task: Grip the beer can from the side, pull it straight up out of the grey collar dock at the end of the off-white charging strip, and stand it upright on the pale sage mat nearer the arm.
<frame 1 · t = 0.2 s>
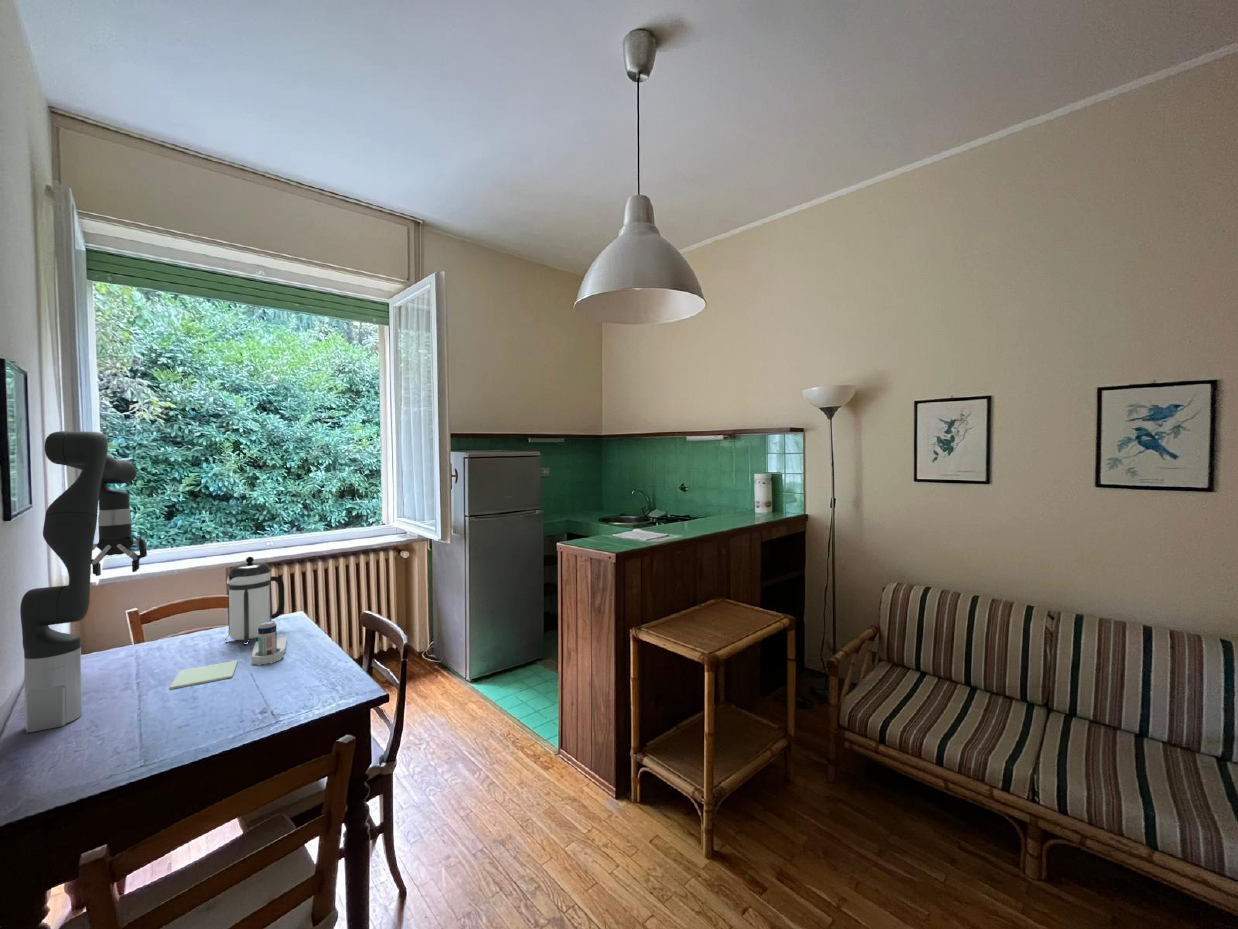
hand: (116, 573, 160), 29 cm above the table, tool pointing down, fingers open, 8 cm apart
beer can: (267, 660, 161), resting in charging dock
coffee press: (253, 638, 182), on the table
charging dock: (267, 659, 161), on the table
sage mat: (205, 675, 149), on the table
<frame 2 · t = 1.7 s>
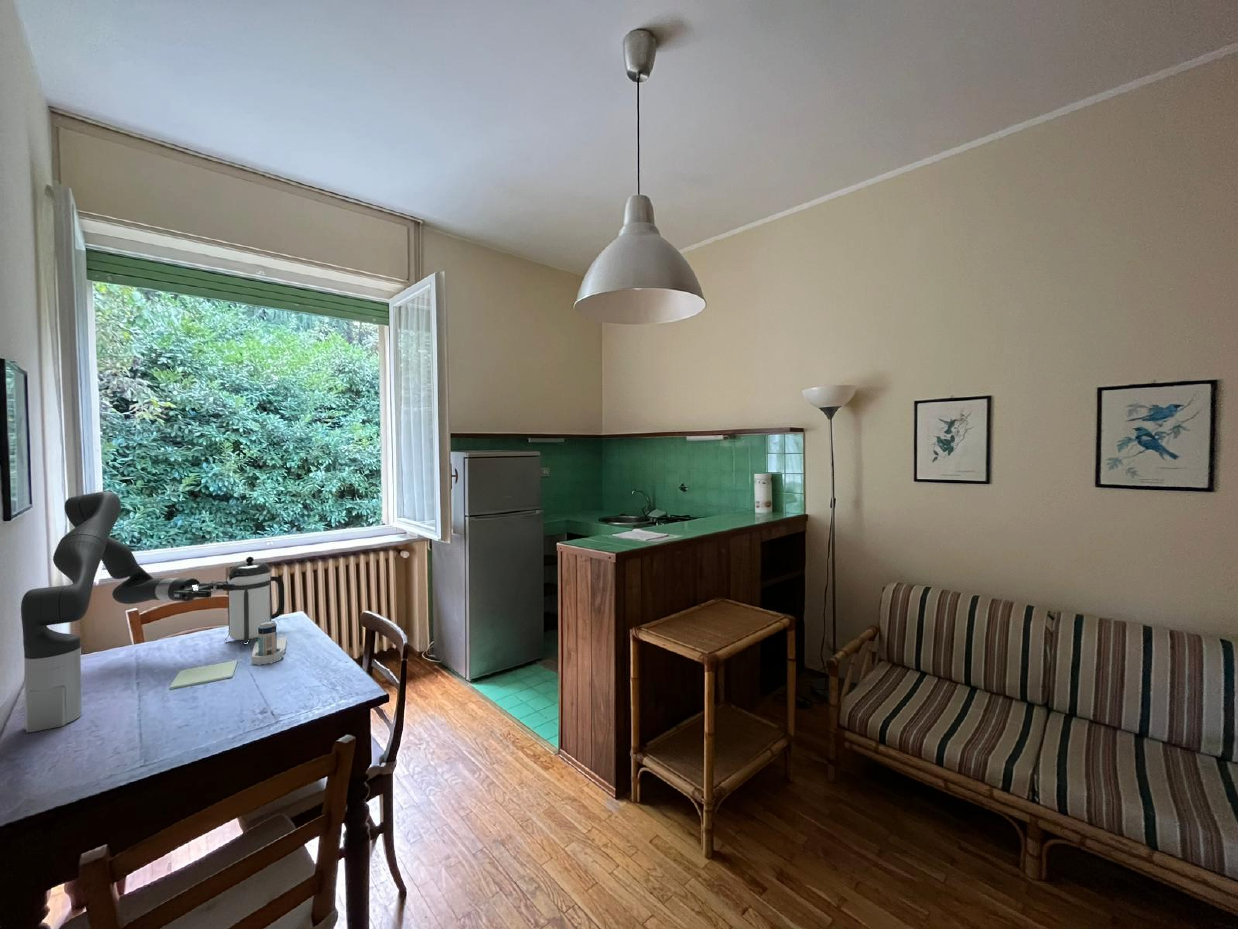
hand: (222, 590, 162), 22 cm above the table, tool horizontal, fingers open, 8 cm apart
nothing on the table moved.
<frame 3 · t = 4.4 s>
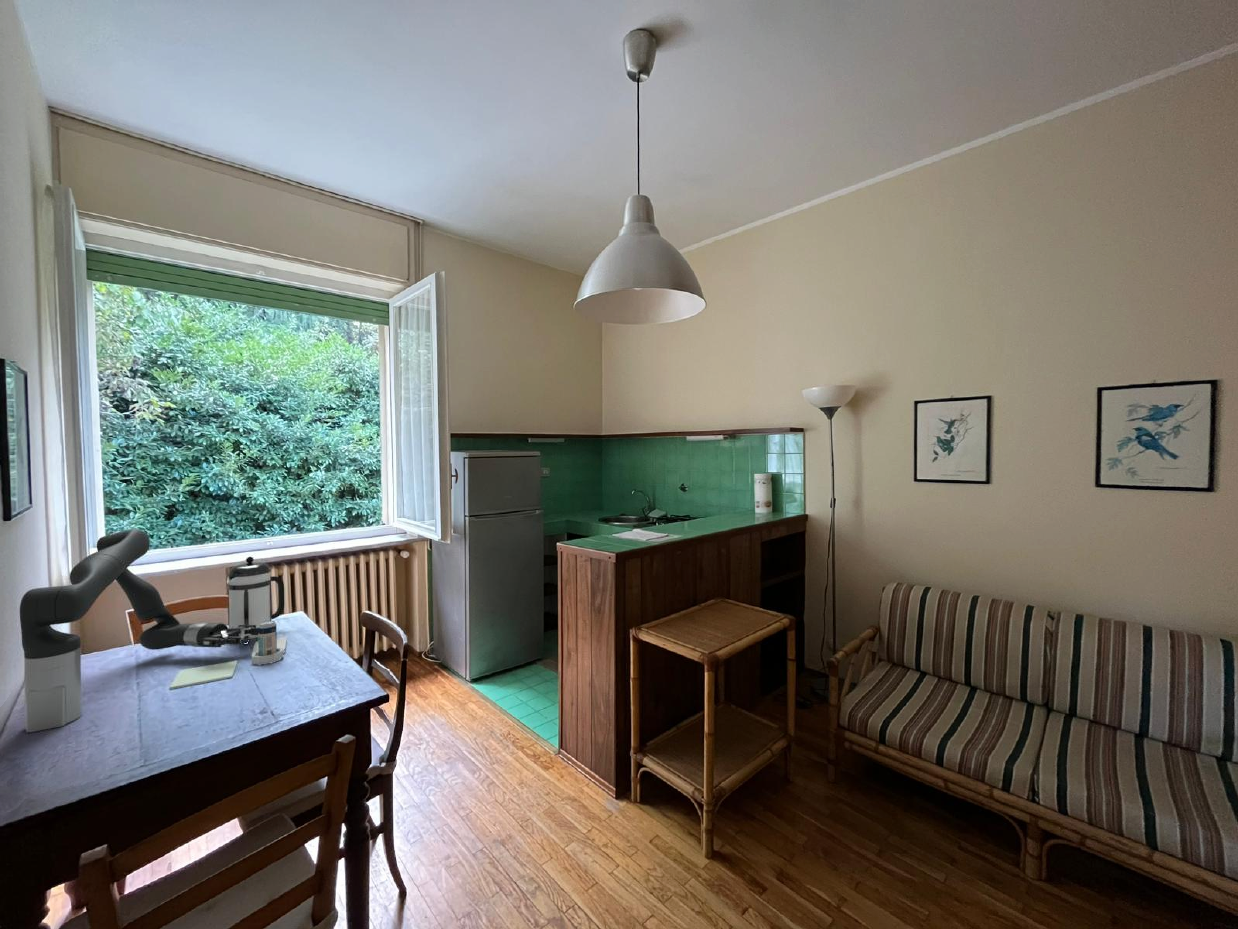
hand: (251, 636, 161), 8 cm above the table, tool horizontal, fingers open, 8 cm apart
nothing on the table moved.
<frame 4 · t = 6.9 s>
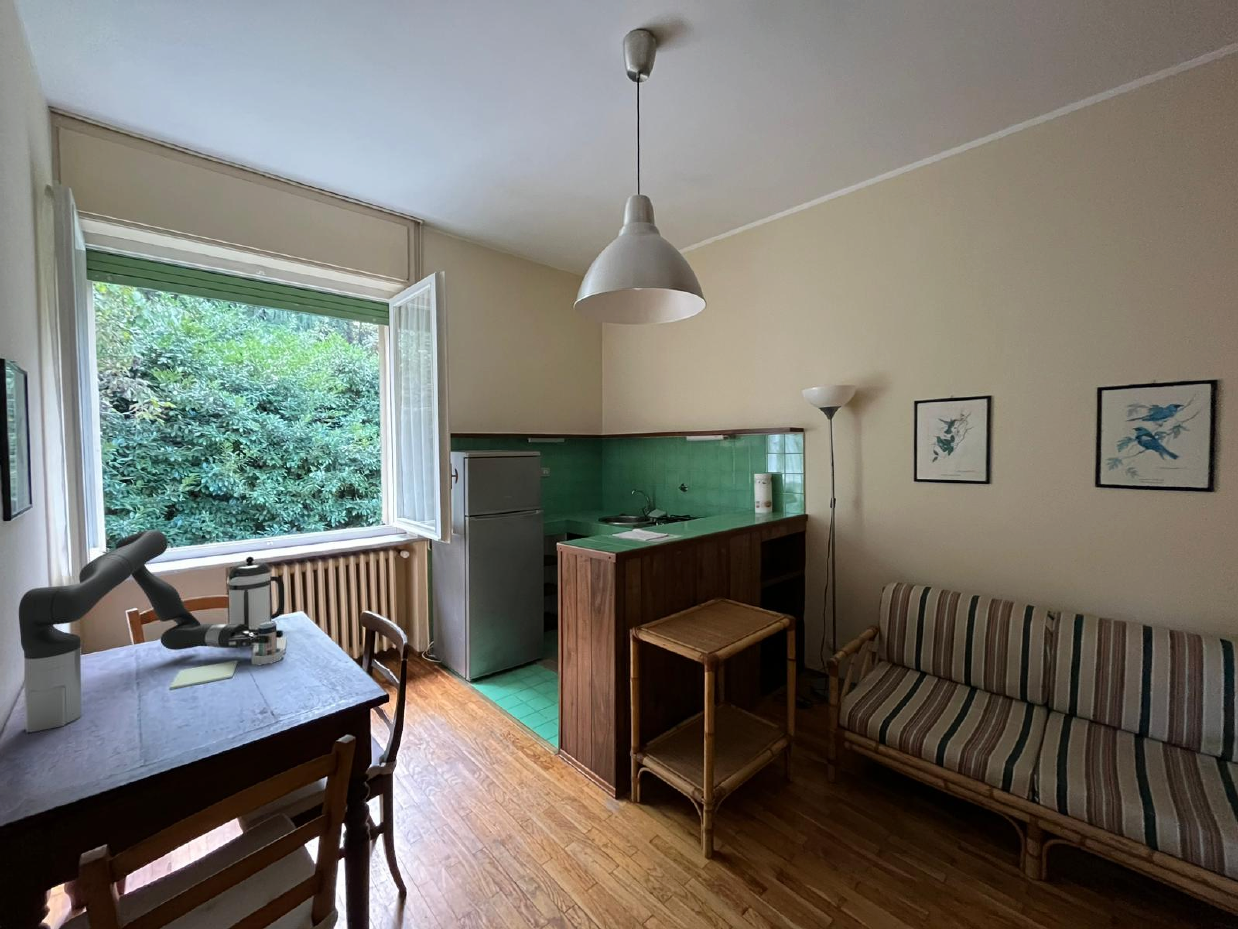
hand: (275, 636, 160), 8 cm above the table, tool horizontal, fingers closed on beer can, 4 cm apart
beer can: (267, 660, 161), resting in charging dock, touching gripper
everything else where it was.
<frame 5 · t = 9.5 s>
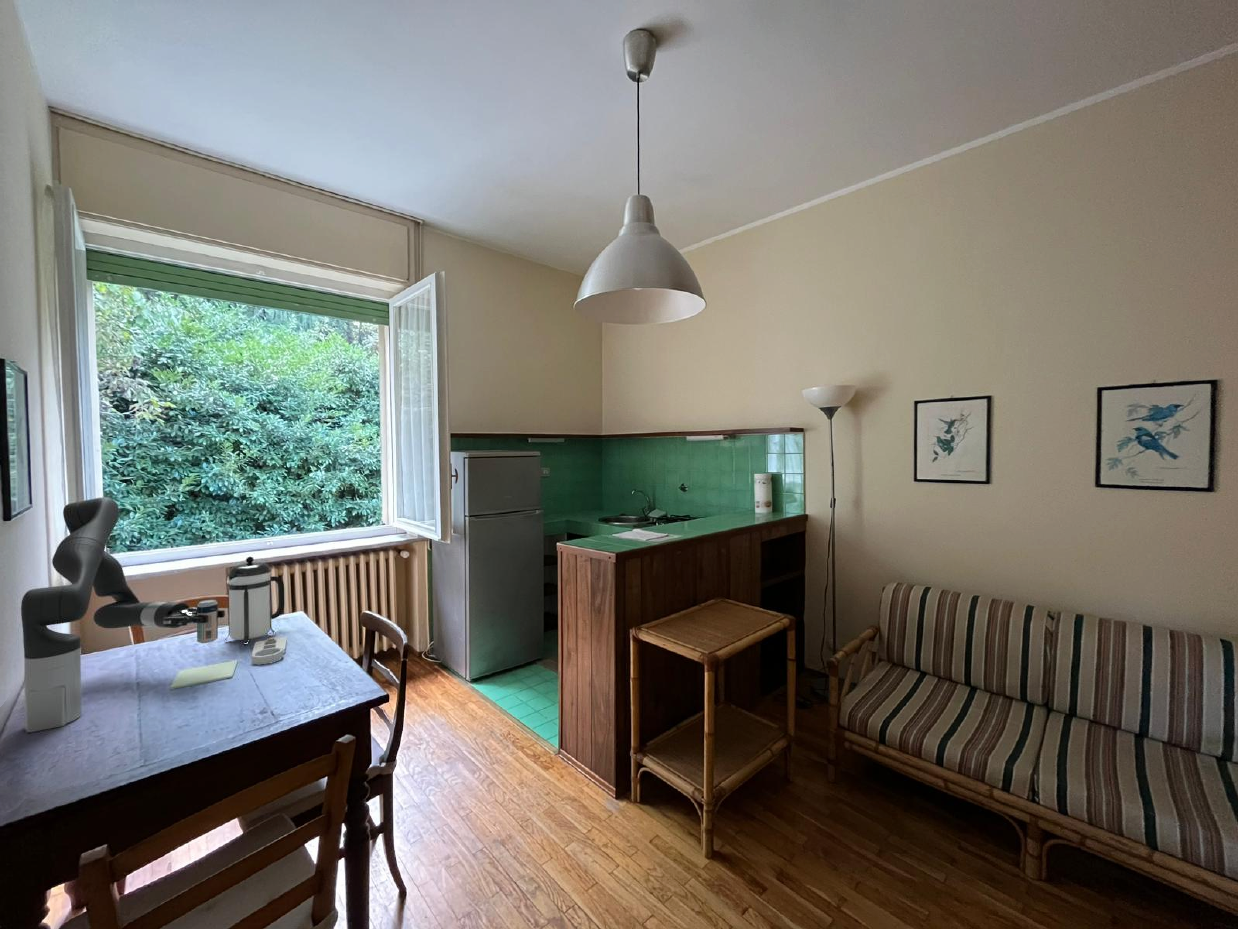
hand: (215, 616, 149), 18 cm above the table, tool horizontal, fingers closed on beer can, 4 cm apart
beer can: (207, 641, 149), point 10 cm above the table, touching gripper
everything else where it was.
when the fingers open (9 cm above the table, at t = 12.0 s): beer can stays where it is, resting on sage mat.
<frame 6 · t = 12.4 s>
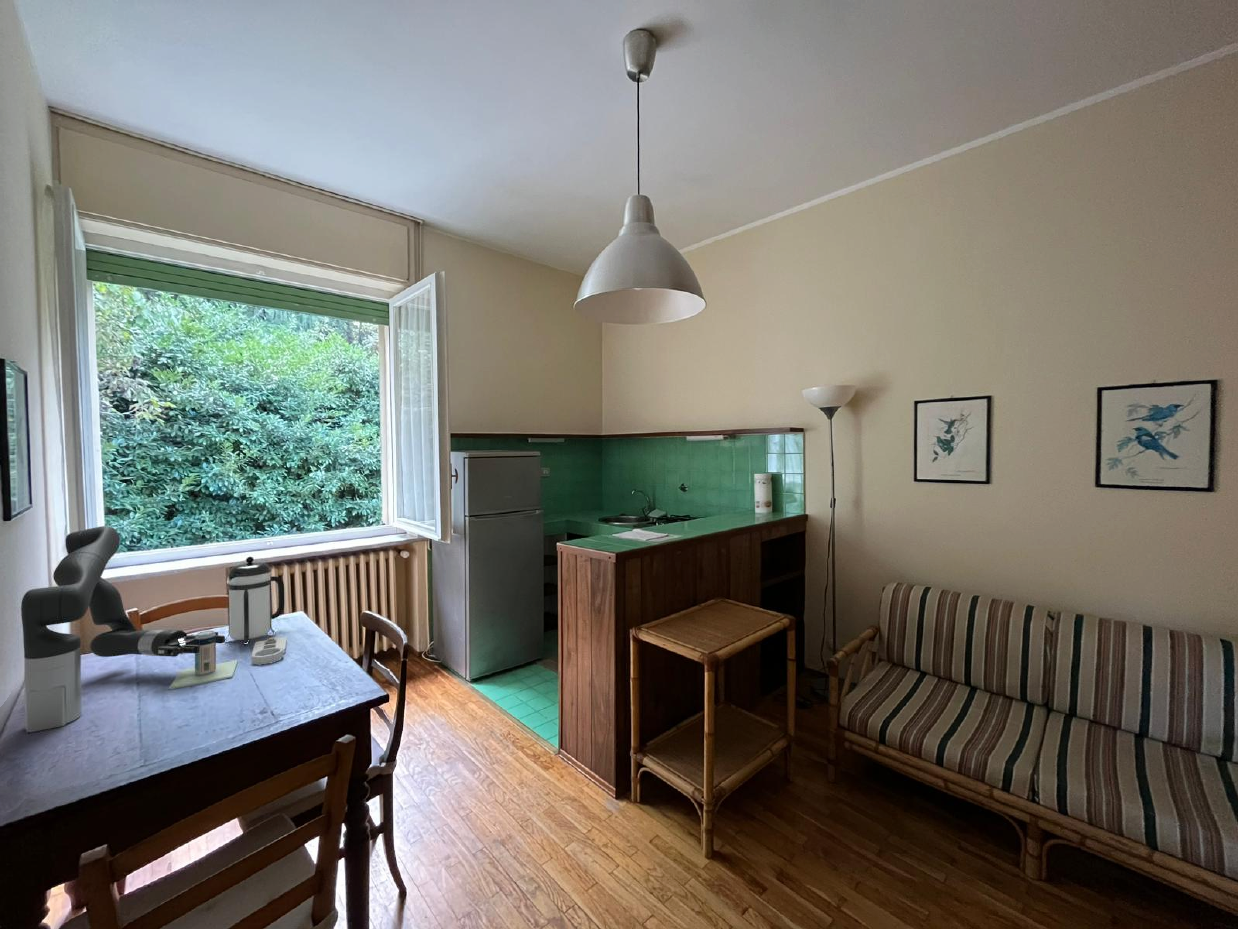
hand: (211, 644, 149), 9 cm above the table, tool horizontal, fingers open, 8 cm apart
beer can: (205, 673, 149), resting on sage mat
everything else where it was.
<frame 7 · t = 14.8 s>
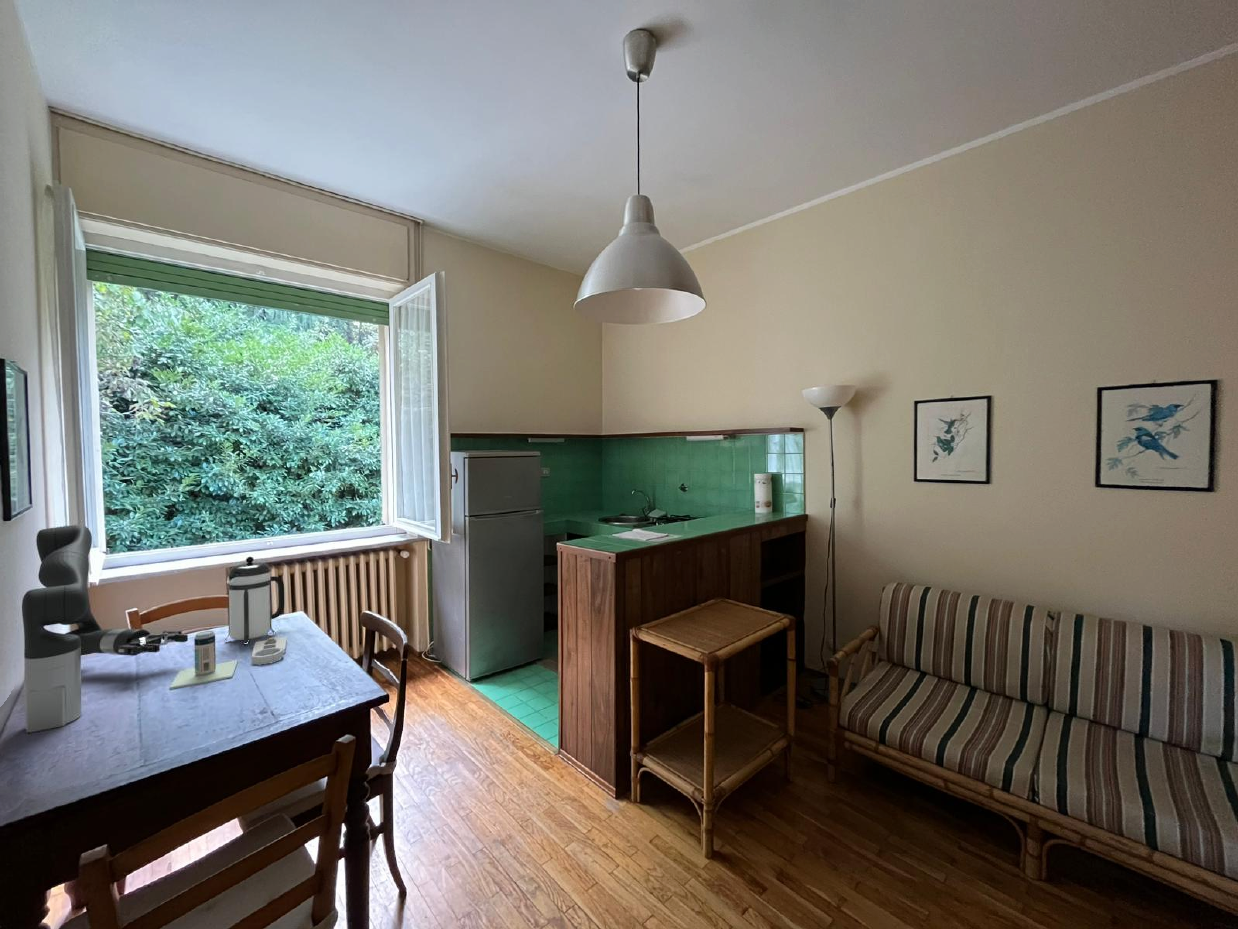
hand: (173, 643, 150), 9 cm above the table, tool horizontal, fingers open, 8 cm apart
nothing on the table moved.
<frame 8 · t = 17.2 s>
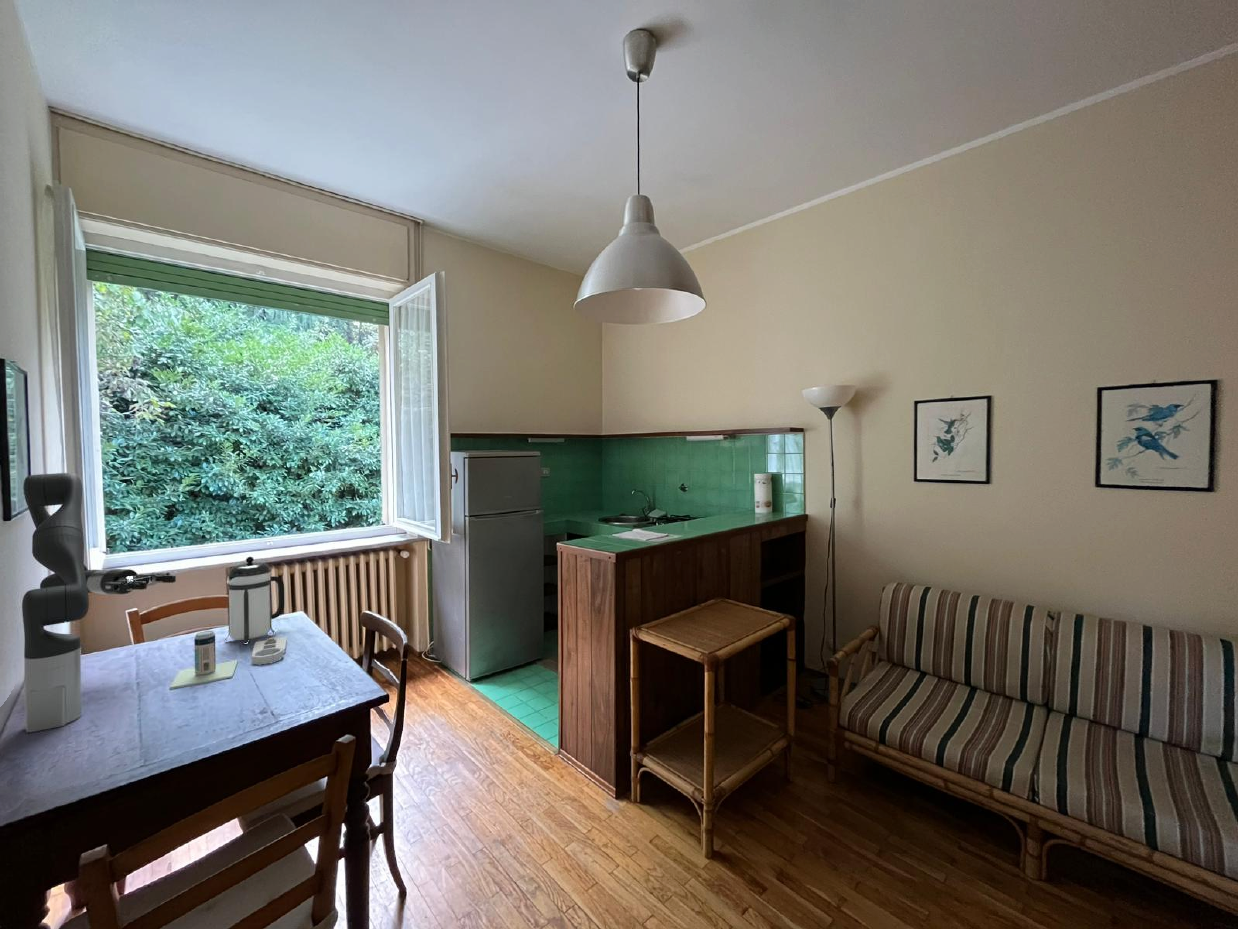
hand: (160, 582, 150), 28 cm above the table, tool horizontal, fingers open, 8 cm apart
nothing on the table moved.
at the end: beer can inside the target area on the sage mat (0.1 cm from its centre), point 0.4 cm above the sage mat's base; beer can tilted 0°; the gripper is holding nothing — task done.
